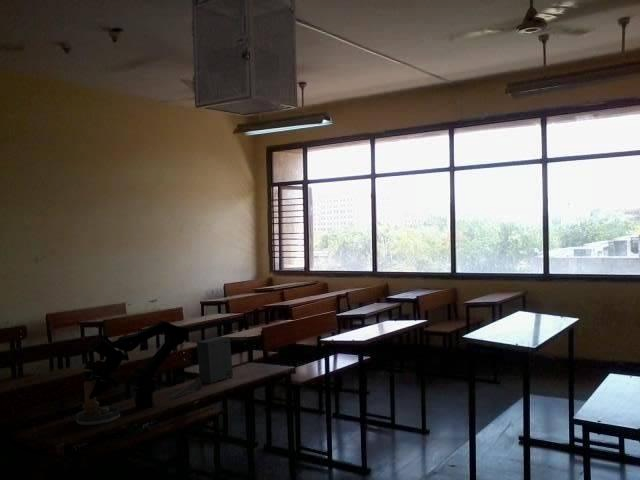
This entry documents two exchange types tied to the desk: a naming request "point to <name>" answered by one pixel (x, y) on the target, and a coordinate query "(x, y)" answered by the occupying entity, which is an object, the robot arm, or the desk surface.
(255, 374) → the desk surface
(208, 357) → the hard drive box
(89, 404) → the brown waisted peg
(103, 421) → the carrier plate
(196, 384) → the caliper
